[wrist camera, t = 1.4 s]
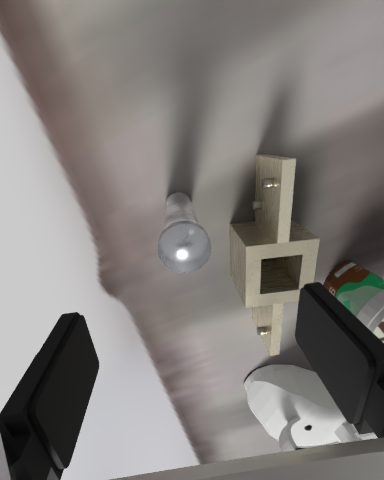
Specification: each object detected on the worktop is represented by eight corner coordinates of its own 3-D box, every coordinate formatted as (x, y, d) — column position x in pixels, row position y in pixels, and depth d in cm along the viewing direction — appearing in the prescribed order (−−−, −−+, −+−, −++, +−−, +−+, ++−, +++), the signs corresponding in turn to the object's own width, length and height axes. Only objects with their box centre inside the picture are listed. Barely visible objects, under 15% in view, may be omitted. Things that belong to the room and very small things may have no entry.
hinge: (228, 157, 27) (246, 163, 21) (293, 151, 28) (331, 155, 21) (231, 320, 37) (245, 359, 30) (280, 314, 37) (303, 351, 30)
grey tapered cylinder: (160, 190, 28) (154, 227, 16) (192, 186, 28) (209, 221, 16) (164, 220, 29) (161, 275, 18) (195, 217, 30) (212, 269, 18)
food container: (305, 269, 34) (355, 317, 25) (346, 251, 34) (413, 293, 24) (323, 328, 39) (371, 386, 30) (360, 313, 38) (420, 368, 29)
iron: (333, 419, 49) (396, 528, 36) (230, 396, 44) (259, 515, 30) (367, 385, 46) (452, 490, 32) (260, 355, 40) (307, 468, 27)
